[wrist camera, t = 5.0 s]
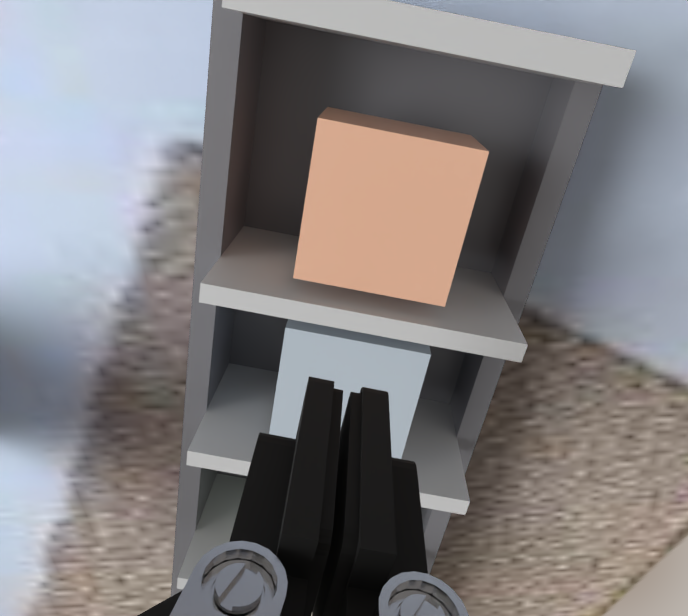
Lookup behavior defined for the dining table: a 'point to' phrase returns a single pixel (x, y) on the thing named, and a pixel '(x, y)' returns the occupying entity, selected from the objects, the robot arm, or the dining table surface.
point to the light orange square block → (387, 205)
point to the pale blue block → (348, 374)
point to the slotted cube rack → (287, 210)
